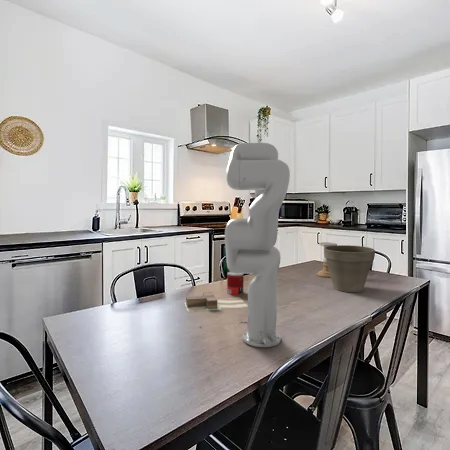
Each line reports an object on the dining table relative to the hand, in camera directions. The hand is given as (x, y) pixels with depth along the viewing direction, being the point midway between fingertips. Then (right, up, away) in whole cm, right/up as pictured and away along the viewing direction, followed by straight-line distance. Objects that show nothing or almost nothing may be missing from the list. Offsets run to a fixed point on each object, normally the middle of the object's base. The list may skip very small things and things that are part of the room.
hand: (262, 243), depth 133 cm
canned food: (-11, -27, +22) cm, 36 cm away
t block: (-26, -27, +3) cm, 38 cm away
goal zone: (-26, -28, +3) cm, 38 cm away
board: (-20, -28, +4) cm, 35 cm away
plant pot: (+49, -26, +34) cm, 65 cm away
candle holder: (+48, -24, +64) cm, 83 cm away
